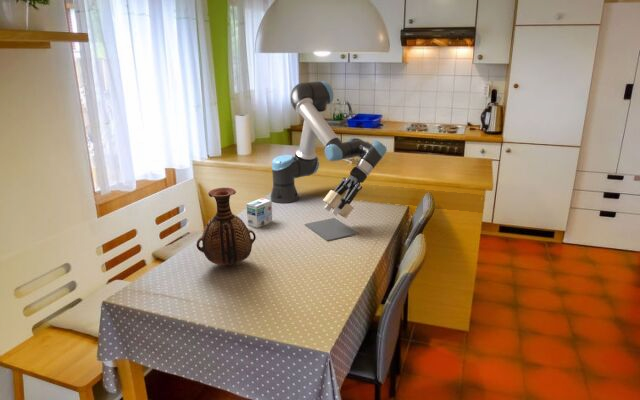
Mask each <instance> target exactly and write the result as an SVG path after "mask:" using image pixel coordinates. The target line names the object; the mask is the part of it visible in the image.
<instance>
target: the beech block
mask: <svg viewBox="0 0 640 400" xmlns="http://www.w3.org/2000/svg"><path fill="white" fill-rule="evenodd" d="M343 198H344V196H342V195H341V196H340V195H339V194H338V193H337V192H335V191H334V189H333V190H332V189H330V190H329V192H327V194H326V195H325V197H324V198H323V199H322V201H323V202H324V203H326V205H327V204H328V205H329V206H330V207H331V209H332V210H334V208H335V207H336V206H337V204H338V203H339V202H340V200H341V199H343ZM354 209H355V207H354V206H353V205H352V204H351V203H350V204H345V206H344V207H343V208H342V209H341V210H340V212H339V213H338V214H337V215H339V216H341V217H343V218H345V219H347V217H349V215H350V214H351V213H352V211H353V210H354Z"/></svg>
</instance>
